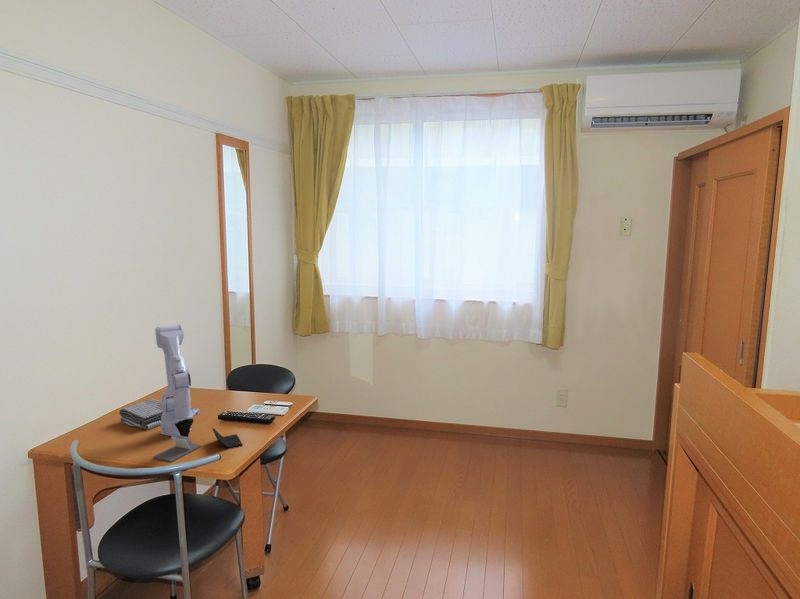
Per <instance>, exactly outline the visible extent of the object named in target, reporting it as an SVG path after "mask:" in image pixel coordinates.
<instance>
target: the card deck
mask: <svg viewBox="0 0 800 599" xmlns="http://www.w3.org/2000/svg"><path fill="white" fill-rule="evenodd" d="M170 437H171V440H172V441H173V443H174V444H175V445H176V446H177V447H181V448H186V449H190V450H191V448H192V447H193V445H192V444H193V443H192V442H191V439H190V438H189V436H188V437H185V436H181V435H176V434H174V435H173V436H170ZM175 445H174V446H175Z"/></svg>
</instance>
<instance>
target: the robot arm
mask: <svg viewBox="0 0 800 599" xmlns="http://www.w3.org/2000/svg"><path fill="white" fill-rule="evenodd" d="M183 327H184V326H183V325H182V324H177V325H176V324H175V325H168V326H157V327H156V328H155V329H154V330H155V342H156V346H157V348H159V349H162V352H163V353H164V354H163V356H164V363H165V370H166V380H167V389H166V390H165V391H163V392H162V393H161V401H162V410H163V414H162V416H161V425H160V426H161V431H160V434H161V435H166V436H170V437H172V436H173V435H174V434H176V435H181V436H185V437H188V438H189V434H190V432H191V431H192V430H193V429H192V428H191V427H192V425H193V423H194V419H193V418H194V416H196V415H200V413H201V411H200V408H193V409H192V406H191V405H192V404H191V401H192V400H191V388H190V387H191V386H192V378H191V377H192V376H191V373H190V371H189V369H187V368H188V367H187V365H186V360H185V359H186V358H184V357H183V356H181V349H180V346H181V345H182V344H183V340H184V336H185V335H184V334H185V333H184V332H185V331H184V328H183Z"/></svg>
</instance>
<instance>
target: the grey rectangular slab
mask: <svg viewBox="0 0 800 599" xmlns="http://www.w3.org/2000/svg"><path fill="white" fill-rule="evenodd" d="M192 445H193V447H192V448H191V450H190V449H186V448H181V447H177V446H176V445H174V446H172V447H169V448H168V449H165V450H164V451H162V452H159V453H158V454H156V455H154V456H153V457H154V458H153V457H152V458H153V459H156V458H158V459H157V460H160V461H164V460H165V461H164V462H168V461H169V463H174V462H175V461H177V460H178V459H181V458H183V457H184V456H186V455H188V454H190V453H192V452H194V451H196V450H198V449H199V448H201V447H202V445H200V444H196V443H192Z"/></svg>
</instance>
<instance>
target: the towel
mask: <svg viewBox="0 0 800 599" xmlns="http://www.w3.org/2000/svg"><path fill="white" fill-rule="evenodd" d="M118 414H119V415H120V422H121V423H122V422H123V423H122V424H124V423H126V424H125V425H127V424H128V426H130V427H135V426H136V427H135V428H139V427H140V429H142V428H143V429H142V430H145V429H147V430H146V431H149V430H152V429H153V427H154V428H156V427H158V425H159V426H161V416H162V414H163V410H162V400H158V399H155V398H150V399H148V400H144V401H142V402H139V403H136V404H133V405H130V406H127V407H124V408H122V409H120V410H119V412H118ZM151 428H152V429H151ZM148 429H149V430H148Z"/></svg>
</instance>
